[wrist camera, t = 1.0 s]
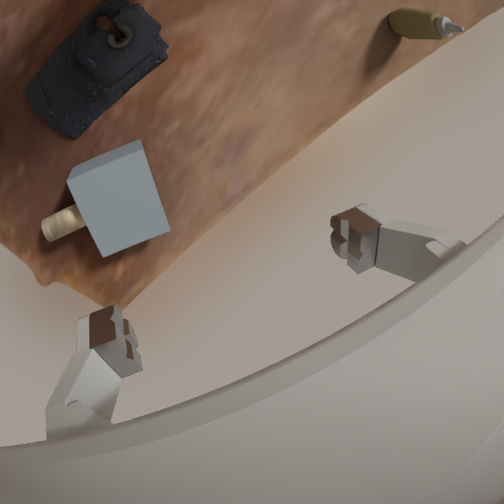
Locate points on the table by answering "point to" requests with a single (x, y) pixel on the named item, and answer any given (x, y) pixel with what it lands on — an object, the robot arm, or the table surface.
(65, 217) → the dowel peg
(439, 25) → the squeeze bottle
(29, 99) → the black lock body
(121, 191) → the socket block
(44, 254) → the table surface
